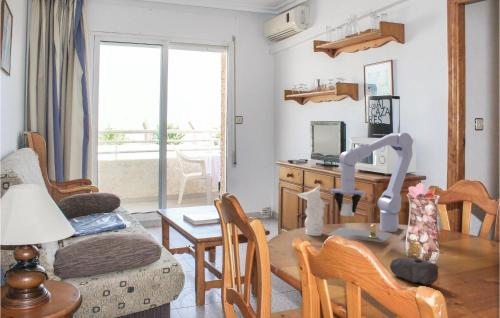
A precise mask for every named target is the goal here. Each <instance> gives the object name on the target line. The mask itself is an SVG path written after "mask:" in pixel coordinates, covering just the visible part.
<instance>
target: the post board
mask: <svg viewBox="0 0 500 318" xmlns="http://www.w3.org/2000/svg"><path fill="white" fill-rule="evenodd" d="M369 228H370V230H363V229H357V228H356V229H355V228H348V227H341V226H340V227H338V228H337V229H335V230H333V231H331V232H330V233H328V234H327V236H331V235H340V236H343V237H342V238H346V239H352V240H353V239H354V240H362V241H369V242H376V243H384V242H386V240H387V239H389V238H390V237H391V236H392V235H393V233H390V232H389V233H387V232H381V231H377V225H376V224H370V226H369Z"/></svg>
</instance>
